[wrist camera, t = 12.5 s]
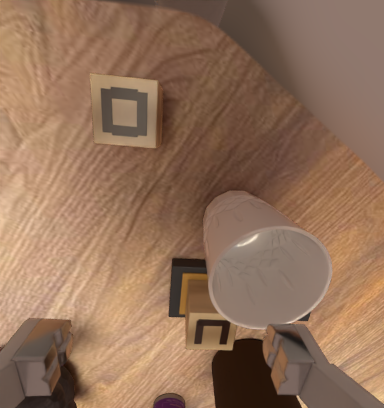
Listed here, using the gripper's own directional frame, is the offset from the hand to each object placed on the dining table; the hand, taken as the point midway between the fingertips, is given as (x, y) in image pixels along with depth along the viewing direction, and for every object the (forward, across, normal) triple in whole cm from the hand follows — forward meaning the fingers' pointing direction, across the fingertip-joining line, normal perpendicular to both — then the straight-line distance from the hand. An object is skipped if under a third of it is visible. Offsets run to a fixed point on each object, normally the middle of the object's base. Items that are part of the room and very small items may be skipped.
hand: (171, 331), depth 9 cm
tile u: (+12, -4, +10) cm, 16 cm away
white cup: (+14, -6, +1) cm, 16 cm away
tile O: (+14, +4, -8) cm, 17 cm away
